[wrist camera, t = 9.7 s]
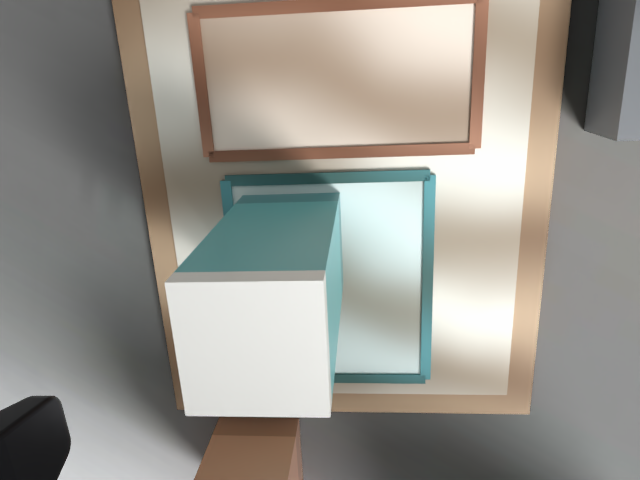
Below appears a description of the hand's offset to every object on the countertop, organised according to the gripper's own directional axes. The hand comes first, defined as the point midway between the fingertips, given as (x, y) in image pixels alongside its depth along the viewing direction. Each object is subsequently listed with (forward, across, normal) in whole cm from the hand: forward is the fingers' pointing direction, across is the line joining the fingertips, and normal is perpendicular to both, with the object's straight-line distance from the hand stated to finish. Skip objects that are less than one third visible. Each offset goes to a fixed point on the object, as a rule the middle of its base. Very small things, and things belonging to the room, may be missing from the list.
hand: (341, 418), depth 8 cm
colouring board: (+12, 0, 0) cm, 12 cm away
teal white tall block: (+12, +2, +1) cm, 12 cm away
